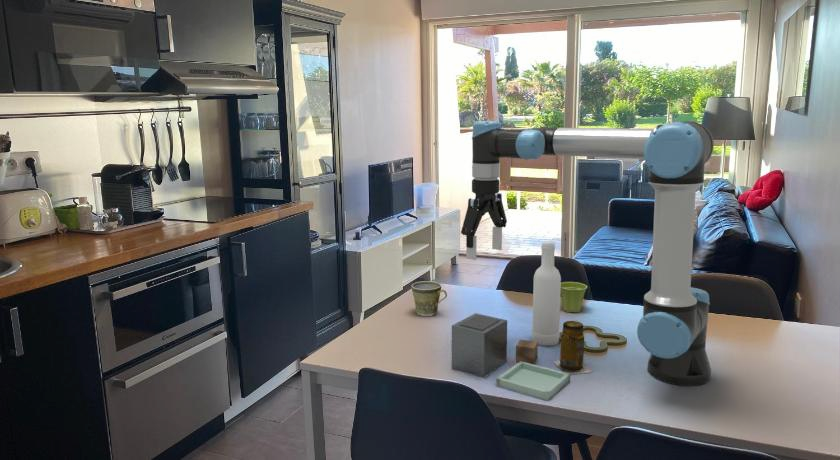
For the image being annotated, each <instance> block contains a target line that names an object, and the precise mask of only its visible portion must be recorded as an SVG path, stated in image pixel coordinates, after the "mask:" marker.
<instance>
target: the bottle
mask: <svg viewBox="0 0 840 460" xmlns="http://www.w3.org/2000/svg"><path fill="white" fill-rule="evenodd" d="M540 249H541V263H540V264H541V265H540V266H539V267H538V268H537V269H536V270H535V272H534V275H533V294H532V296H533V297H532V329H531V336H532V337H531V339H532V340H531V341H536V342H538V346H544V347H548V346H549V347H551V346H555V345H558V343H559V342H560V324H561V323H560V319H561V318H560V317H561V283H562V277H561V273H560V271H559V269H557V267H556V266H555V252H556V251H555V250H556V244H555V242H554V241H550V240H546V241H542V243H541V247H540Z"/></svg>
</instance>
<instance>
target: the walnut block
mask: <svg viewBox="0 0 840 460" xmlns="http://www.w3.org/2000/svg"><path fill="white" fill-rule="evenodd" d="M538 350H539V345H538V342H536V341H532V340H526V339H519V340H518V341H517V343H516V345H515V364H517V363H519V362H520V361H522V362H526V363H530V364H533V365H536V362H537V360H538V358H539V357H538V354H539V351H538Z"/></svg>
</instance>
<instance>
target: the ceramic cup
mask: <svg viewBox="0 0 840 460" xmlns="http://www.w3.org/2000/svg"><path fill="white" fill-rule="evenodd" d="M411 291H412V292H411V293H412V296H413V299H414V306H415V311H416V314H417V316H419V315H421V316H420V317H423V316H431V317H434V316H436V315H437V313H438V306H439V304H440V303H441V302H442V301H444V300H445V299H446V298H447V296H448V295H447V294H448V293H447V292H446V290H445V289H442V284H441V282H436V281H431V280H428V281H426V280H423V281H416V282H414V283H412V284H411ZM441 293H444V295H445V296H444V297H443V298H442V299H440V296H441ZM435 314H436V315H435ZM433 315H434V316H433Z"/></svg>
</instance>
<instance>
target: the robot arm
mask: <svg viewBox="0 0 840 460" xmlns="http://www.w3.org/2000/svg"><path fill="white" fill-rule="evenodd" d="M501 125H502V124H501V122H500V121H498V120H497V121H495V120H480V121H475V122H474V123H473V126H472V136H471V140H472V146H471V147H472V161H471V162H472V164H471V168H472V169H471V170H472V171H471V176H472V180H471V193H473V194H474V195H475V197H474V198H468V200H467V201H468V202H467V208H466V213H465V216H464V219H463V224H462V227H461V232H460V233H461V234H462V236H466V240H465V241H466V243H465V244H466V245H465V246H466V254H465V255H466V259H468V260H474V261H476V260H477V242H478V241H477V240H478V238H477V235H475V234H476V233H477V230H478V228H479V225H480V223H481V220H482V219H483V216H485V215H486V214H487V213H488V215H489V217H490V219H491V221H492V223H493V226H492V236H491V237H492V238H491V239H492V241H491V242H492V243H491V246H492V247H491V249H492V250H497V251H501V250H502V249H503V245H502V244H503V228H506V227H507V223H508V220H507V215H506V213H505V208H504V204H503V199H502V198H503V195H502V193H500V181H501V180H500V179H499V178H500V176H501V174H500V173H501V171H500V170H501V158H510V159H519V160H521V159H523V160H527V161H528V160H537V159H539V158H541V156H560V157H561V156H565V157H566V156H567V157H587V158H608V159H611V158H612V159H633V160H634V159H635V160H644V162H645V165H646V167H647V168H648V179H647V180H648V184H649V185H650V186H651V188H653V189H654V206H653V207H654V208H653V209H654V211H653V233H652V257H651V258H652V259H651V260H652V261H651V277H650V278H651V281H650V290H649V291H647V292H646V293H645V294H644V295H643V308H642V309H643V310H642V311H643V312H642V317H641V318H640V319H639V322H638V325H637V330H636V332H637V337H638V341H639V343H640V344H641V345H642V347H643V348H644V349H645V350H646V352H648V353H649V354H650V356H649V358H648V361H647V372H648V373H649V374H650V375H651V376H652V377H653V376H654V377H653V378H655V379H657V380H660V381H662V382H664V381H665V383H668V384H671V385H677V384H679V385H678V386H685V385H694V386H699V384H701V385H704V384H703V383H705V384H706V382H707V383H708V382H709V381H711V373H712V369H711V368H712V367H711V364H710V362H709V361H710V360H709V357H708V353H707V349H706V342H707V331H708V321H709V320H708V319H709V309H710V307H709V306H710V305H711V303H710V294H709V293H708V292H707V291H706V290H704V289H701V288H696V287H692V286H691V284H692V283H691V282H692V269H693V267H692V266H693V264H692V263H693V249H694V231H695V230H694V226H695V210H696V209H695V208H696V192H697V190H698V189H699V188H700V187H701V186H702V185H704V181H705V180H704V179H705V168H706V167H705V164H706V163H708V161H709V160H710V159H711V157H712V154H713V152H714V148H715V147H714V146H715V145H714V143H715V142H714V138H713V135H712V133H711V131H710V130H708V128H707V127H705V126H704V125H703V124H701V123H699V122H696V121H690V120H687V121H680V122H679V121H676V122H668V123H665V124H657V125H656V126H655V127H654V128H621V127H620V128H618V127H617V128H616V127H615V128H612V127H610V128H609V127H607V128H605V127H604V128H603V127H550V126H540V127H535V128H534V127H532V128H523V129H522V128H518V129H514V128H513V129H507V128H506V129H505V128H502V126H501ZM673 383H674V384H673Z"/></svg>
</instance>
